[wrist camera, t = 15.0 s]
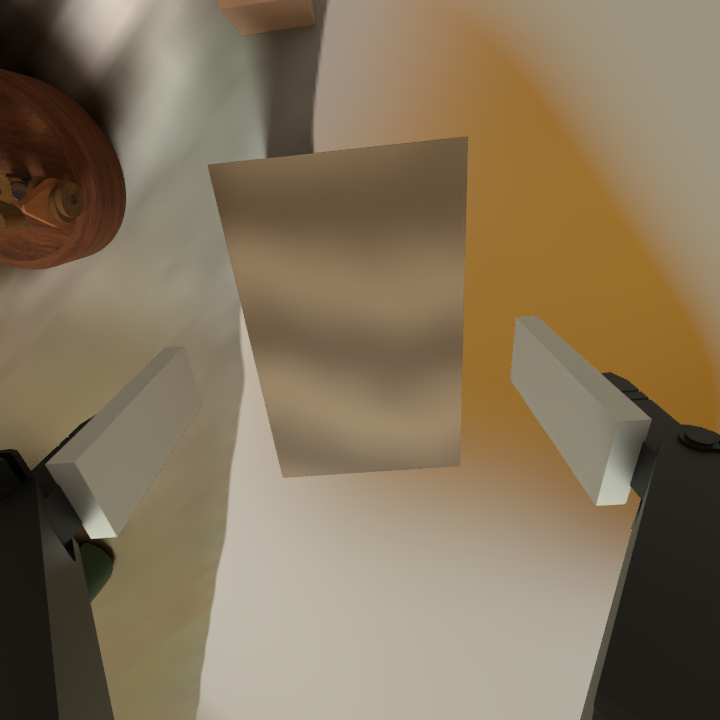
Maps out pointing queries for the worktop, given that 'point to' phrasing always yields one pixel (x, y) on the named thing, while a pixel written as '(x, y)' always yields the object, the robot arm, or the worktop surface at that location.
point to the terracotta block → (267, 14)
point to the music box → (53, 177)
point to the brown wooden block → (353, 300)
